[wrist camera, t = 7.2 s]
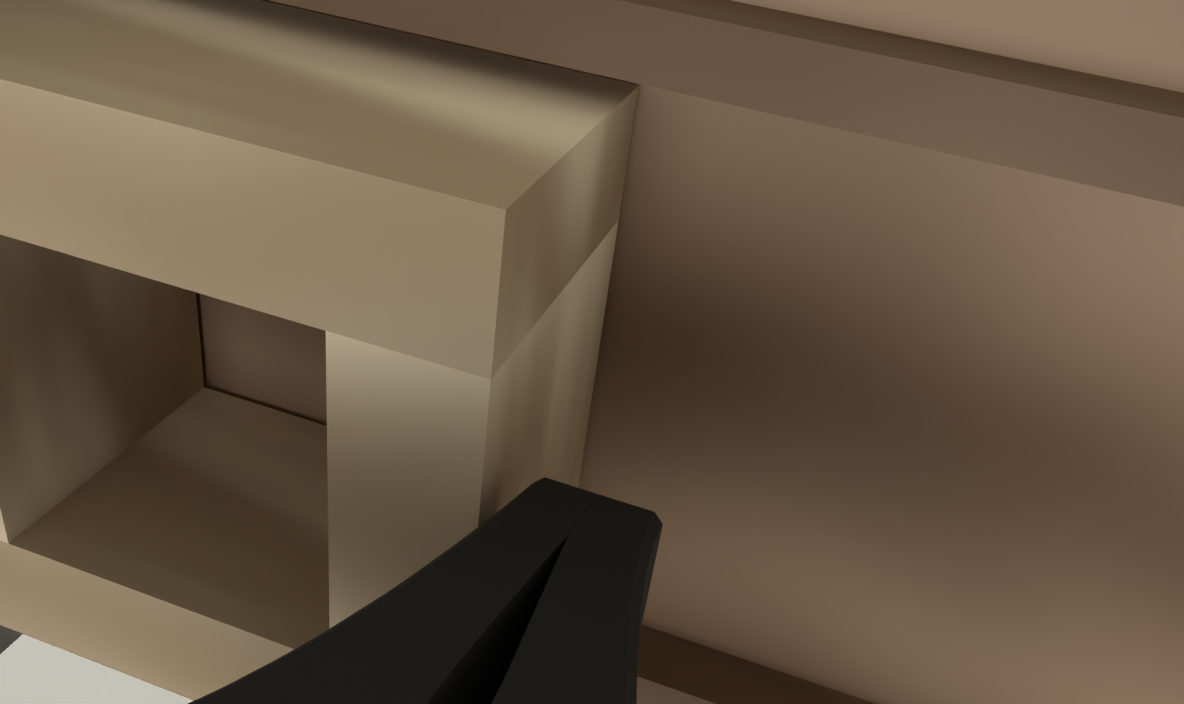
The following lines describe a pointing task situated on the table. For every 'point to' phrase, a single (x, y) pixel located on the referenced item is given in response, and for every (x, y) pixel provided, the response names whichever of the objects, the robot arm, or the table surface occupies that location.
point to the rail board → (869, 339)
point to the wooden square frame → (279, 314)
